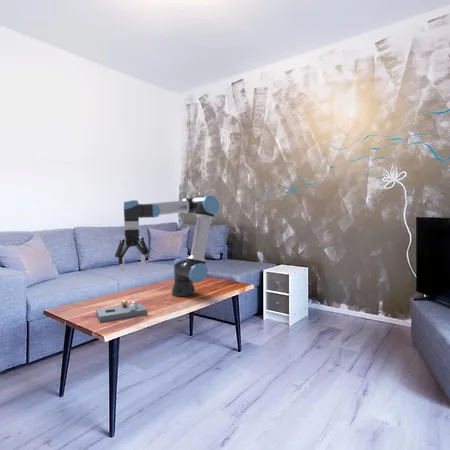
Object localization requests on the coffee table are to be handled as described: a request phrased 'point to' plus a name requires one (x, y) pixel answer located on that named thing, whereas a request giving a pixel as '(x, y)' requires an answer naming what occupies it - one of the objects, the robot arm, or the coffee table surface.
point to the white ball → (132, 307)
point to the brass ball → (124, 303)
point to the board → (120, 312)
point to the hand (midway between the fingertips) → (133, 268)
